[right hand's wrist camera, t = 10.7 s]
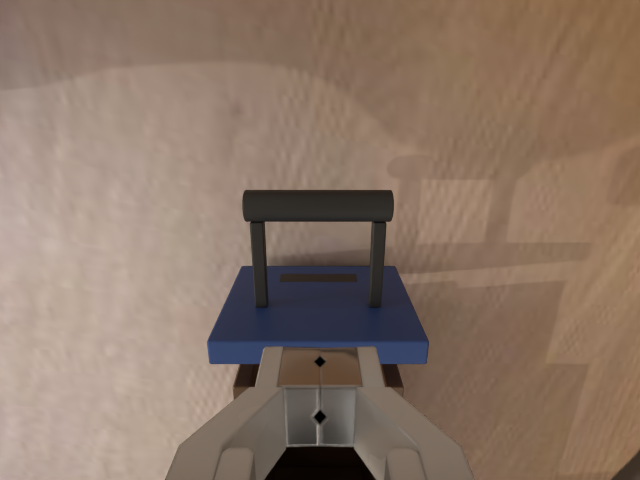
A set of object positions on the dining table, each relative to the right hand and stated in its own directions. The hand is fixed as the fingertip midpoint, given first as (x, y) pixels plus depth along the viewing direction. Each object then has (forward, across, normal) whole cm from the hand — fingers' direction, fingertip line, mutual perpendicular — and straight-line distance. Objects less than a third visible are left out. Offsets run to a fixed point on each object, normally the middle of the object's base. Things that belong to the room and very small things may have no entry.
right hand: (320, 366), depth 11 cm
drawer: (+13, 0, -8) cm, 15 cm away
